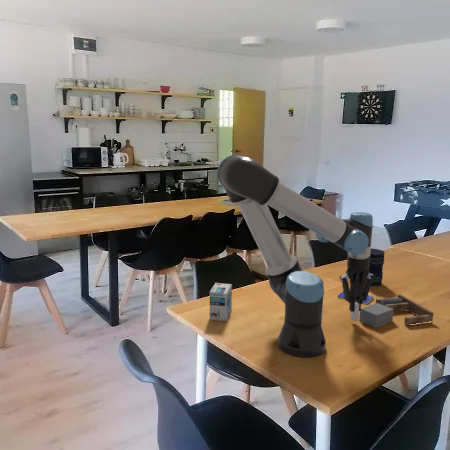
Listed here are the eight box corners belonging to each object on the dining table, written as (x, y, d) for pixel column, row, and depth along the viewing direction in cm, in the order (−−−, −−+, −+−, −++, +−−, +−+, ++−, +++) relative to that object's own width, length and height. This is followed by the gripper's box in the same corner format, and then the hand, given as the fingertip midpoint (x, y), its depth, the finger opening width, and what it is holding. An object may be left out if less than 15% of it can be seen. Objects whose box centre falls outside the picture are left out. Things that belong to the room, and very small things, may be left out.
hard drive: (373, 296, 189) (345, 289, 196) (366, 302, 183) (337, 295, 190) (373, 299, 189) (345, 293, 197) (366, 305, 183) (337, 298, 190)
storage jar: (381, 287, 202) (384, 255, 199) (358, 285, 205) (361, 253, 202) (381, 280, 211) (384, 249, 208) (359, 278, 215) (362, 247, 211)
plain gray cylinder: (385, 311, 176) (386, 301, 176) (379, 307, 180) (380, 298, 179) (403, 309, 178) (404, 300, 178) (397, 306, 182) (398, 296, 181)
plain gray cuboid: (375, 328, 162) (376, 315, 161) (359, 321, 167) (360, 308, 166) (392, 321, 167) (393, 309, 166) (376, 315, 173) (377, 302, 172)
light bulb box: (226, 321, 165) (227, 293, 162) (208, 320, 166) (209, 292, 164) (231, 310, 175) (232, 283, 173) (214, 308, 176) (215, 282, 174)
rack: (405, 326, 163) (407, 315, 162) (375, 306, 181) (376, 296, 180) (432, 323, 166) (433, 312, 165) (399, 303, 184) (400, 294, 183)
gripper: (347, 260, 154) (343, 325, 159) (381, 258, 158) (376, 321, 163) (336, 254, 161) (332, 317, 166) (369, 252, 165) (364, 313, 170)
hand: (354, 319), depth 165 cm, fingers closed
